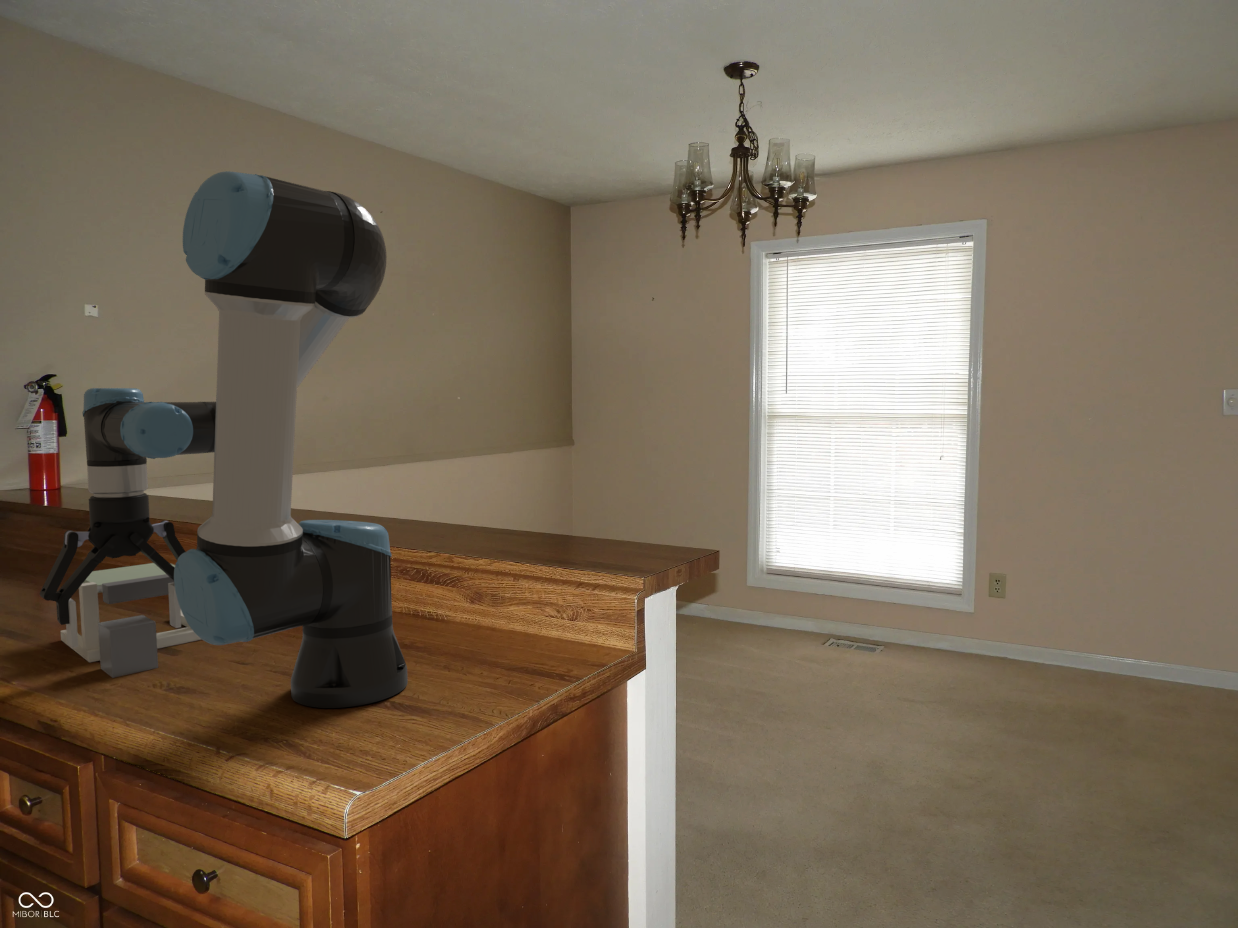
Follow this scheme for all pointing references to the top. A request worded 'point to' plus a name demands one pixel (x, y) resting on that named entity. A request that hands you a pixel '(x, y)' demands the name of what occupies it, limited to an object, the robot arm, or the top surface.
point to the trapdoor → (130, 582)
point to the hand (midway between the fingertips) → (126, 635)
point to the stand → (90, 620)
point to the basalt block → (128, 645)
